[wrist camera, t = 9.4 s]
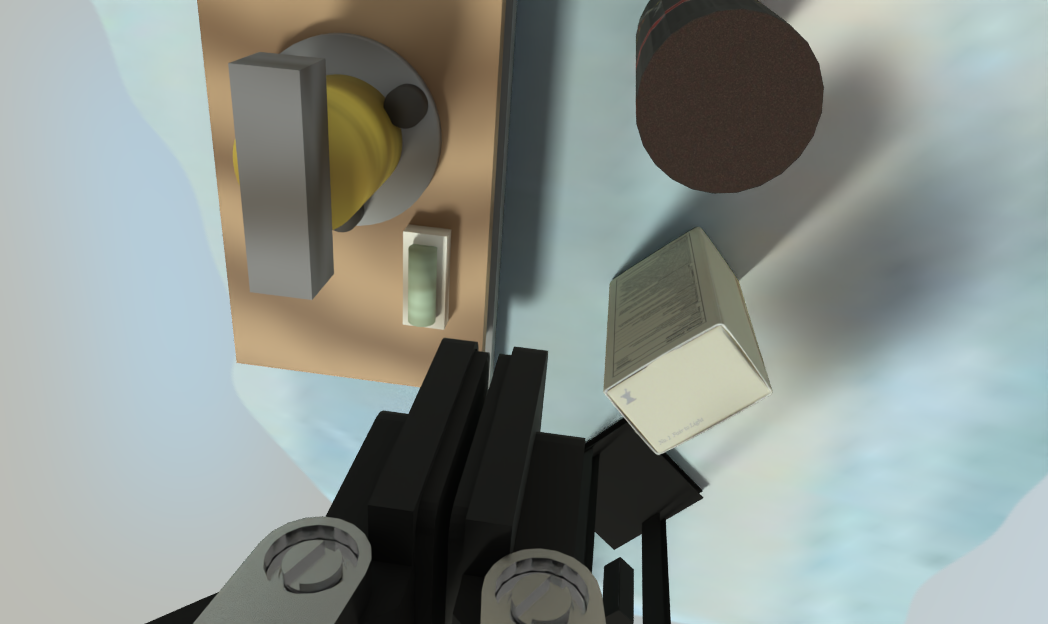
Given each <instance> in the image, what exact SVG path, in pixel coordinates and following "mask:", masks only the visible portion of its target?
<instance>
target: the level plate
mask: <svg viewBox="0 0 1048 624" xmlns="http://www.w3.org/2000/svg"><path fill="white" fill-rule="evenodd" d="M197 3H198V12H199V22H200V31H201V40H202V49H203V58H204V67H205V76H206V86H207V95H208V104H209V113H210V122H211V131H212V140H213V150H214V159H215V168H216V177H217V186H218V195H219V204H220V214H221V223H222V232H223V241H224V250H225V259H226V268H227V278H228V287H229V296H230V305H231V314H232V323H233V332H234V342H235V351H236V360H237V363H242V364H250V365H257V366H265V367H272V368H280V369H287V370H295V371H302V372H310V373H317V374H325V375H332V376H340V377H347V378H355V379H362V380H370V381H377V382H385V383H392V384H400V385H407V386H415V387H421V385H422V383H423V381H424V378H425V376H426V374H427V372H428V370H429V367H430V365H431V363H432V361H433V358H434V356H435V354H436V352H437V350H438V347H439V345H440V343H441V341H442V339H443V338H451V339H459V340H467V341H475V342H478V347H479V351H482V352H485V346H486V329H487V313H488V296H489V279H490V262H491V245H492V229H493V212H494V195H495V178H496V162H497V145H498V128H499V111H500V94H501V78H502V61H503V44H504V27H505V11H506V0H197Z"/></svg>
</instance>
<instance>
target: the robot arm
mask: <svg viewBox="0 0 1048 624" xmlns="http://www.w3.org/2000/svg"><path fill="white" fill-rule="evenodd" d="M547 360H548V351H545V350H537V349H529V348H522V347H514V348H513V351H512V355H505V354H499V357H498V360H497V363H496V367H495V370H494V373H493V376H492V380H491V383H490V386H489V389H488V384H489V368H490V353H489V352H482V351H479V347H478V342H475V341H467V340H459V339H451V338H443V339H442V341H441V343H440V345H439V347H438V350H437V352H436V354H435V356H434V358H433V361H432V363H431V365H430V367H429V370H428V372H427V374H426V376H425V378H424V381H423V383H422V385H421V387H420V390H419V392H418V394H417V396H416V398H415V401H414V403H413V405H412V407H411V409H410V412H409V414H405V413H397V412H390V411H381V412H380V413H379V414H378V416H377V417H376V419H375V421H374V423H373V425H372V427H371V429H370V431H369V433H368V435H367V437H366V438H365V440H364V442H363V444H362V446H361V448H360V450H359V452H358V454H357V456H356V458H355V460H354V462H353V464H352V466H351V468H350V470H349V472H348V474H347V476H346V478H345V480H344V481H343V483H342V485H341V487H340V489H339V491H338V493H337V495H336V497H335V499H334V501H333V503H332V505H331V507H330V509H329V511H328V513H327V515H326V517H323V516H322V517H310V518H303V519H299V520H296V521H293V522H289V523H287V524H285V525H283V526H281V527H279V528H277V529H275V530H274V531H272V532H271V533H270V534H269V535H267V536H266V537H265V538H264V539H263V540H262V541H261V542H260V543H259V544H258V545H257V547H256V548H255V549H254V550H253V551H252V552H251V554H250V555H249V556H248V557H247V559H246V560H245V561H244V562H243V563H242V565H241V566H240V567H239V568H238V569H237V571H236V572H235V573H234V574H233V576H232V577H231V578H230V579H229V581H228V582H227V583H226V584H225V585H224V587H223V588H222V589H221V590H220V591H219V592H218V593H215V594H213V595H211V596H208V597H206V598H204V599H201V600H199V601H197V602H194V603H192V604H190V605H187V606H185V607H183V608H181V609H178V610H176V611H173V612H171V613H169V614H166V615H164V616H162V617H160V618H157V619H155V620H153V621H150V622H148V623H146V624H606V620H605V613H604V606H603V599H602V594H601V591H600V588H599V585H598V582H597V580H596V578H595V577H594V576H593V575H592V573H591V572H590V571H589V569H588V568H587V567H585V566H584V565H583V564H581V563H580V562H579V561H577V560H576V559H575V558H574V553H575V542H576V532H577V521H578V511H579V501H580V490H581V480H582V469H583V459H584V448H585V438H580V437H573V436H566V435H558V434H551V433H544V432H540V429H541V419H542V409H543V400H544V390H545V380H546V370H547Z"/></svg>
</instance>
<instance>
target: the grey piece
mask: <svg viewBox="0 0 1048 624" xmlns="http://www.w3.org/2000/svg"><path fill="white" fill-rule="evenodd" d="M516 15H517V0H506V11H505V27H504V44H503V61H502V78H501V94H500V111H499V128H498V145H497V162H496V178H495V195H494V212H493V229H492V245H491V262H490V279H489V296H488V313H487V329H486V346H485V352H489V353H490V368H489V384H488V388H489V386H490V383H491V380H492V376H493V369H494V353H495V338H496V323H497V307H498V292H499V277H500V261H501V246H502V230H503V215H504V200H505V184H506V169H507V153H508V138H509V123H510V107H511V92H512V77H513V61H514V46H515V30H516Z"/></svg>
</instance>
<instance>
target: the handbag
mask: <svg viewBox="0 0 1048 624" xmlns="http://www.w3.org/2000/svg"><path fill="white" fill-rule="evenodd" d="M700 492H702V490H701V489H700V488H699V487H698V486H697V485H696V484H695V483H694V481H693V480H692V479H691V478H690V477H689V476H688V475H687V474H686V473H685V472H684V471H683V470H682V469H681V468H680V467H679V466H678V465H677V464H676V463H675V462H674V461H673V460H672V459H671V458H670V457H669V456H668V455H667V454H666V453H665V452H664V453H662V454H660V455H657V454H655V453H654V452H653V451H652V449H651V448H650V447H649V446H648V445H647V444H646V443H645V442H644V441H643V440H642V438H641V437H640V436H639V435H638V434H637V433H636V432H635V430H634V429H633V428H632V426H631V425H630V424H629V423H628V422H627V421H626V419H625V418H623V419H622V420H620V421H619V422H617V423H616V424H614V425H613V426H611V427H610V428H608V429H607V430H605V431H604V432H602V433H601V434H599V435H598V436H596V437H595V438H593V439H592V440H590V441H589V442H587V443H586V444H585V448H584V459H583V469H582V480H581V490H580V501H579V511H578V521H577V532H576V542H575V553H574V558H575V559H576V560H577V561H579V562H580V563H581V564H583V565H584V566H585V567H587V568H588V569H589V571H590V572H591V573H592V564H593V549H594V534H595V532H596V533H597V534H598V535H599V536H600V537H601V538H602V539H603V540H604V541H605V542H606V543H607V544H608V545H610V546H611V547H612V548H613V549H614V550H615V549H617V548H618V547H620V546H622V545H623V544H625V543H627V542H629V541H630V540H632V539H634V538H636V537H637V536H639V535H641V534H642V599H643V624H671V618H670V598H669V577H668V557H667V536H666V519H668V518H670V517H672V516H673V515H675V514H677V513H679V512H680V511H682V510H684V509H685V508H687V507H689V506H691V505H692V504H694V503H696V502H697V501H699V500H701V499H703V497H702V496H701V495H700V494H699V493H700ZM603 606H604V613H605V620H606V624H633V621H634V620H633V618H634V569H633V568H632V567H630V566H629V565H628V564H627V563H626V562H625V561H624V560H623V559H622V558H621V557H619V558H617V559H616V560H614V561H612V562H610V563H609V564H607V565H605V566H604V580H603Z"/></svg>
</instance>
